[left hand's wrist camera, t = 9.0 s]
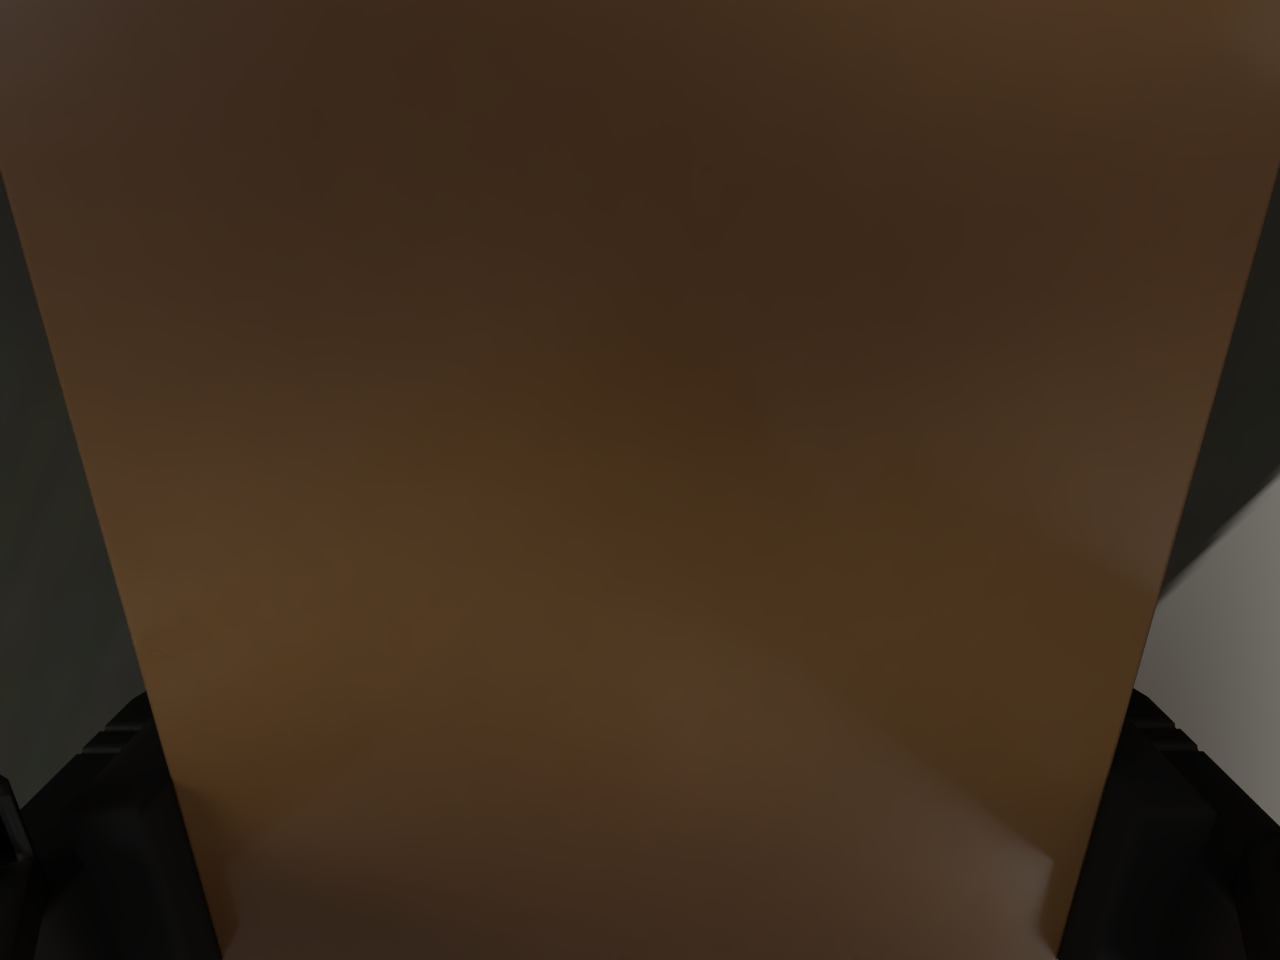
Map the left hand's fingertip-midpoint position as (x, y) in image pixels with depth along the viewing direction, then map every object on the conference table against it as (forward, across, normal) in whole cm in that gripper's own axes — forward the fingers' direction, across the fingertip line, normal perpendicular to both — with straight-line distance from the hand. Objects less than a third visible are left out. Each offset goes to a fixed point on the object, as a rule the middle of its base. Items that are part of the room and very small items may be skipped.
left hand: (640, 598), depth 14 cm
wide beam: (0, 0, -34) cm, 34 cm away
